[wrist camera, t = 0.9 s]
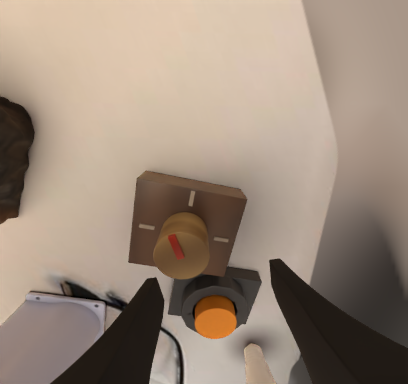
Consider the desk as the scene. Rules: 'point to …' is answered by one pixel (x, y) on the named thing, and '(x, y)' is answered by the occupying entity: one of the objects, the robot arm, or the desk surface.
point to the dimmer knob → (182, 246)
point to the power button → (215, 317)
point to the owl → (13, 155)
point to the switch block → (215, 293)
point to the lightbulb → (256, 366)
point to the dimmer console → (191, 203)
